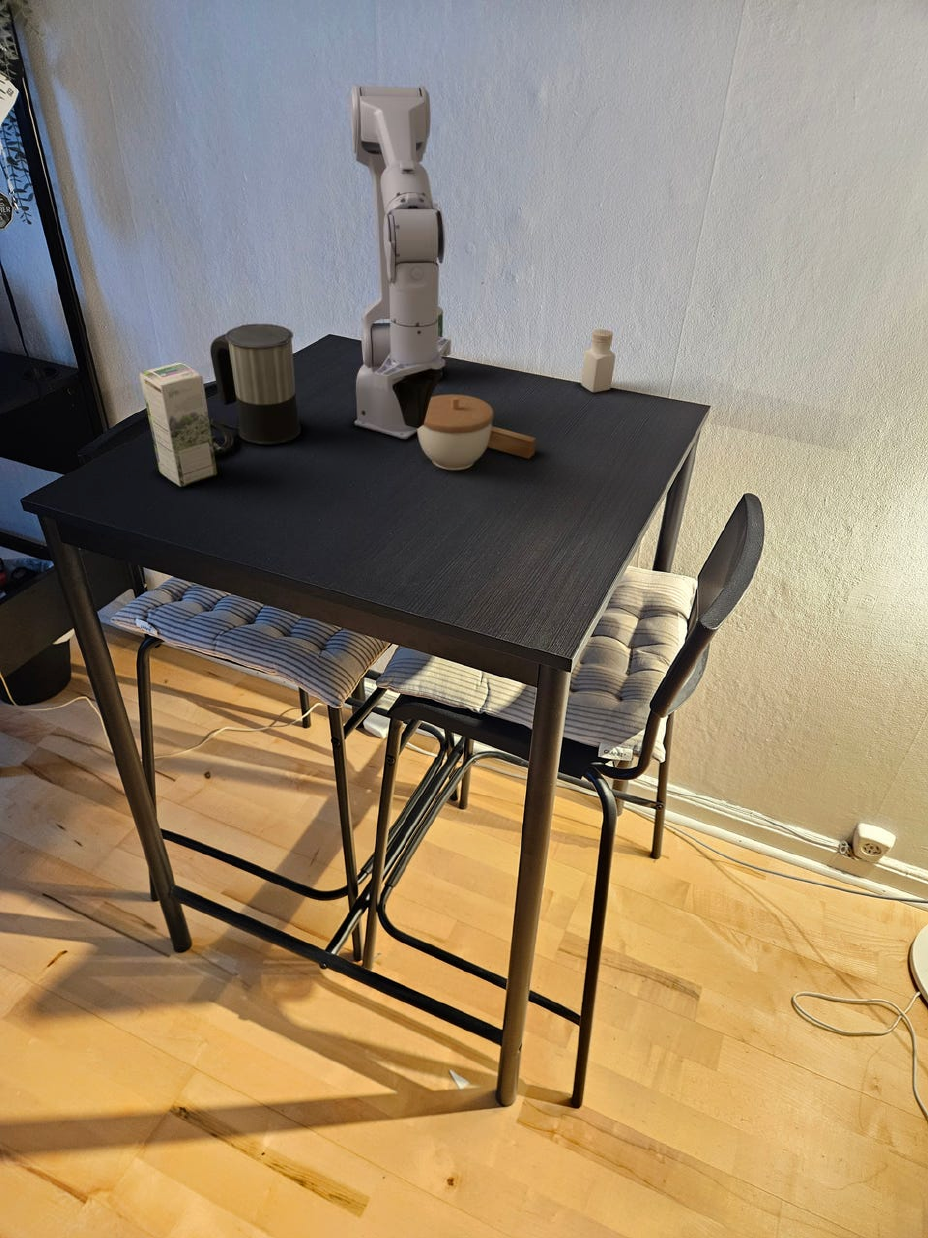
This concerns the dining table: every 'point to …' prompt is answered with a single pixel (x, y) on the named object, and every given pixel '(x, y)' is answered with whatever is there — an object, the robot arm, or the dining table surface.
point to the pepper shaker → (598, 362)
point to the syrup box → (179, 423)
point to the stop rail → (512, 442)
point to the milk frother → (256, 384)
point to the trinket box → (456, 430)
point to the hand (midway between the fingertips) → (414, 424)
